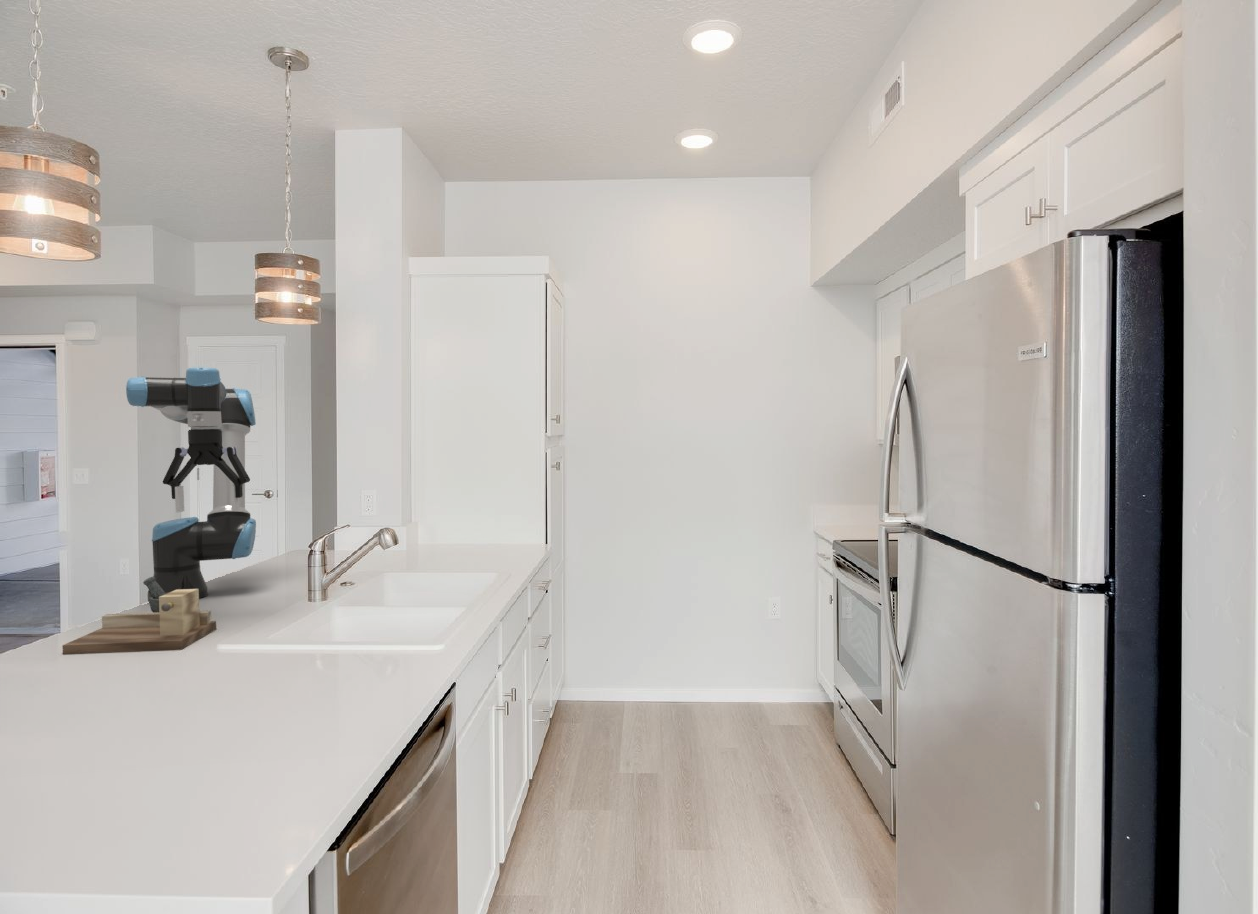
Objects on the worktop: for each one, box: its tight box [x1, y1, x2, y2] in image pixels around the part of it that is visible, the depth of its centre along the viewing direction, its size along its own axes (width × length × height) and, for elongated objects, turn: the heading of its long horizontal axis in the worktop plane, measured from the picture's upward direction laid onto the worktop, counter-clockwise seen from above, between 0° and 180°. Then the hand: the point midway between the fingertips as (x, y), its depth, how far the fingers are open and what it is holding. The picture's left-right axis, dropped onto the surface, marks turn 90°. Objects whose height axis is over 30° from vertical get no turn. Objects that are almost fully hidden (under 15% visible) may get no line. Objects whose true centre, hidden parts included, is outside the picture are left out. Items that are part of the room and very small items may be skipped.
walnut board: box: [62, 610, 217, 655], centre depth 173 cm, size 17×25×5 cm
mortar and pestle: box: [142, 576, 170, 613], centre depth 190 cm, size 11×9×12 cm
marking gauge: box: [159, 589, 200, 636], centre depth 174 cm, size 12×5×9 cm, turn 6°
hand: (208, 511), depth 189 cm, fingers open, 13 cm apart
